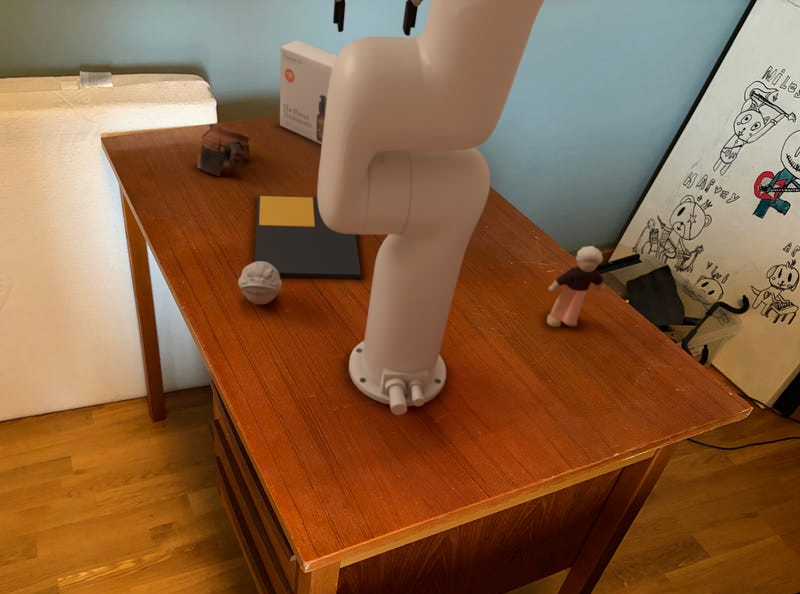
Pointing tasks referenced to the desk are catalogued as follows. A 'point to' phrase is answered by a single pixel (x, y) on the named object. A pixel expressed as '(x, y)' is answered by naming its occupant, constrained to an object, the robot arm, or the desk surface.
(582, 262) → the grandmother figurine
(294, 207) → the desk mat
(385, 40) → the robot arm
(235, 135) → the pottery mug
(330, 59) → the white product box
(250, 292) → the carved stone head
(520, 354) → the desk surface
